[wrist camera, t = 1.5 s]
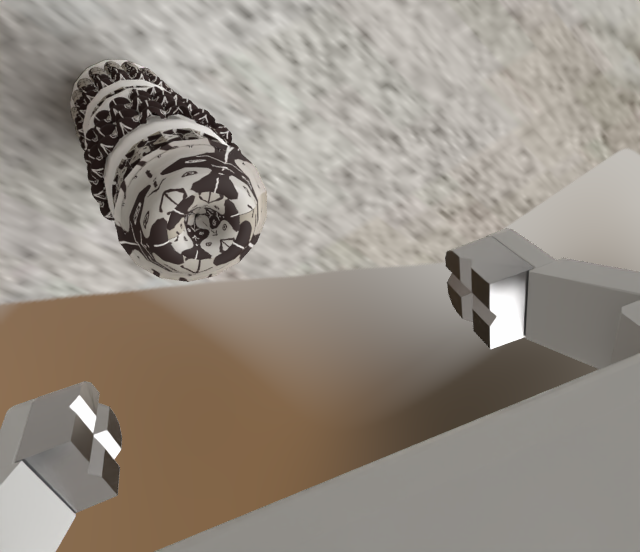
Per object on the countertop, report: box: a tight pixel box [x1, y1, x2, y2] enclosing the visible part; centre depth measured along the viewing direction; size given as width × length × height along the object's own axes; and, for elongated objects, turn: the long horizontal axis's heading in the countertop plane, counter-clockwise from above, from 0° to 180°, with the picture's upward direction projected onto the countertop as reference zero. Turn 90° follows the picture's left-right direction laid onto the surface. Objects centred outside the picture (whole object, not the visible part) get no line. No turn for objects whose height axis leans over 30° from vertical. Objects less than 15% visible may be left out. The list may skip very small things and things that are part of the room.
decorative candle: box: [70, 60, 267, 282], centre depth 33 cm, size 9×9×25 cm
